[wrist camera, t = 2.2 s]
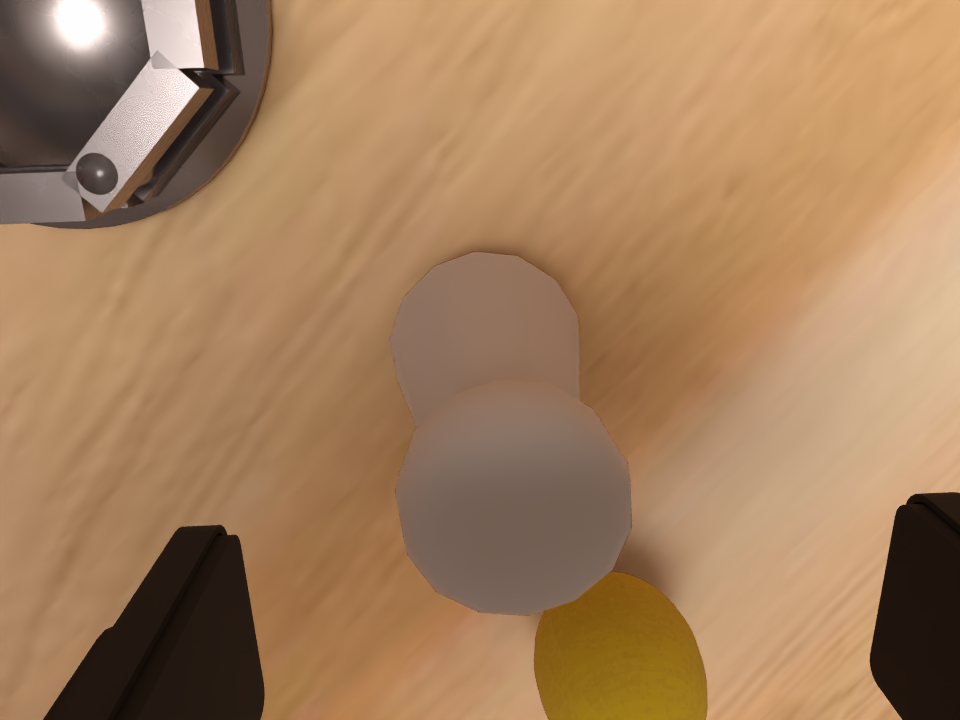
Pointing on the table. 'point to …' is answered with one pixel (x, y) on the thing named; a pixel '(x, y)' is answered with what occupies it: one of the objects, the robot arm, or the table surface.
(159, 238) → the table surface
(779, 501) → the table surface
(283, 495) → the table surface
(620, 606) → the lemon
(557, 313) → the salt shaker
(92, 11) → the collar stand
